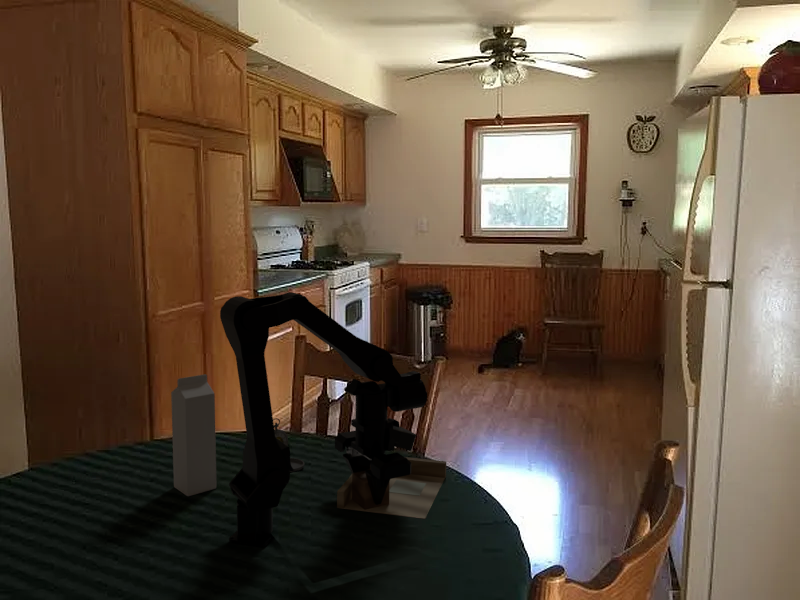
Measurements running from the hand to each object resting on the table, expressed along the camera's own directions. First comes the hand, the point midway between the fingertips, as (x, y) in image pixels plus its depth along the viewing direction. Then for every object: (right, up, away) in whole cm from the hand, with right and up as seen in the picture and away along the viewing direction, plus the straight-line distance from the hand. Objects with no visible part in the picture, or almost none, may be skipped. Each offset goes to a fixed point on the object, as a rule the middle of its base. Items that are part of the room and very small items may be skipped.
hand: (371, 498), depth 123 cm
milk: (-34, 0, +8) cm, 35 cm away
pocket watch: (-19, +1, +19) cm, 27 cm away
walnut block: (0, -1, 0) cm, 1 cm away
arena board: (+4, -1, +5) cm, 7 cm away
